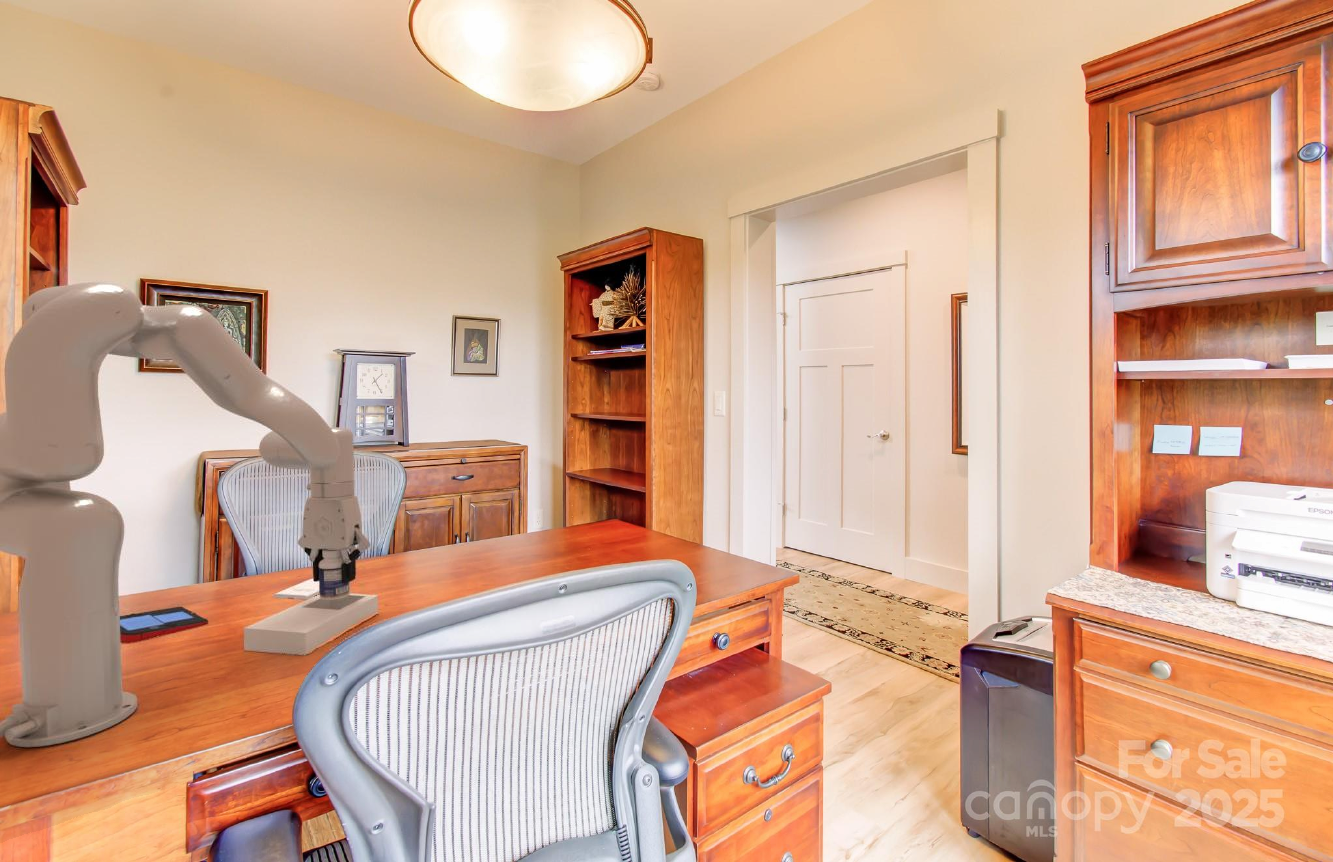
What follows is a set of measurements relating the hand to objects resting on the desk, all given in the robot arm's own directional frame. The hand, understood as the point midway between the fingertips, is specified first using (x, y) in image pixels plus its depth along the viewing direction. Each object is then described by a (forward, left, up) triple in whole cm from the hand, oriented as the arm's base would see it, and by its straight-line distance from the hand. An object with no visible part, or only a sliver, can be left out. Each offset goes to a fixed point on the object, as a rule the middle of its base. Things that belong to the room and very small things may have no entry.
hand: (334, 579), depth 118 cm
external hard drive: (+16, +19, -9) cm, 27 cm away
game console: (-8, +32, -9) cm, 34 cm away
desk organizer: (-5, 0, -8) cm, 10 cm away
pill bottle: (0, 0, -4) cm, 4 cm away
